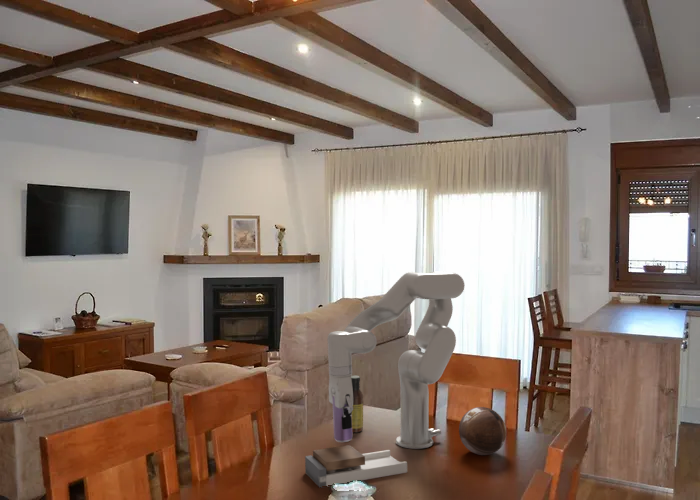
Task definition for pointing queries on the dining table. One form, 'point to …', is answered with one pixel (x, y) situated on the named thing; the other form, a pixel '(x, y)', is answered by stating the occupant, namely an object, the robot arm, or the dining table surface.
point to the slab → (339, 458)
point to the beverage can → (340, 425)
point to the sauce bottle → (357, 405)
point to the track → (373, 468)
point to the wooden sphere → (482, 431)
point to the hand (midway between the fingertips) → (342, 425)
